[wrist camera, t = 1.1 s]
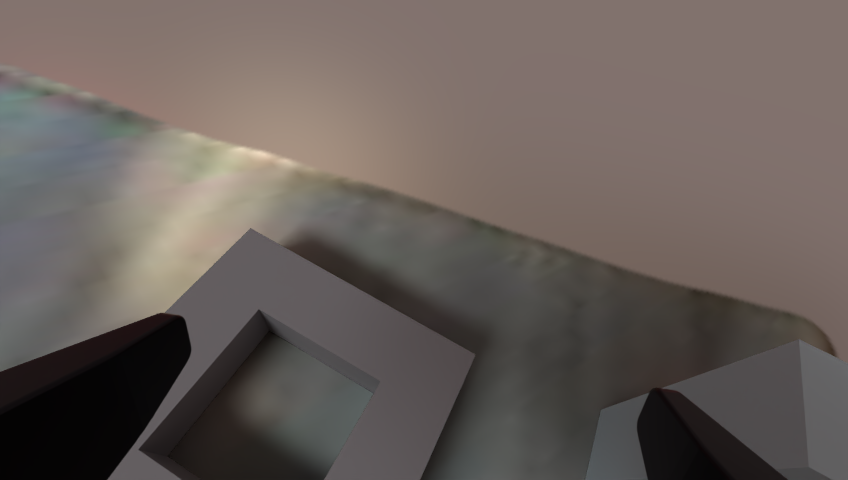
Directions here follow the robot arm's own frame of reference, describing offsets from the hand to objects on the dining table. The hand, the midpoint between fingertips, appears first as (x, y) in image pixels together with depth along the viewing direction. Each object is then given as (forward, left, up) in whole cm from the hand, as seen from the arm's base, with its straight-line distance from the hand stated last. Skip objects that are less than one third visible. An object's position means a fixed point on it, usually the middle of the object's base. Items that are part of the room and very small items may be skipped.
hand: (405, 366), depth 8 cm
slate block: (-5, -13, -15) cm, 20 cm away
